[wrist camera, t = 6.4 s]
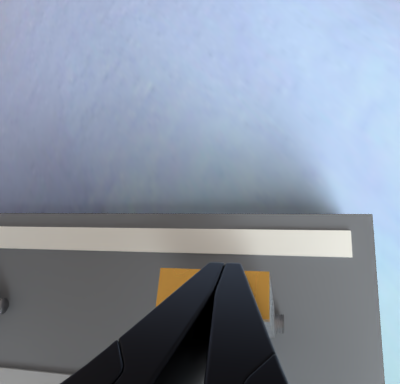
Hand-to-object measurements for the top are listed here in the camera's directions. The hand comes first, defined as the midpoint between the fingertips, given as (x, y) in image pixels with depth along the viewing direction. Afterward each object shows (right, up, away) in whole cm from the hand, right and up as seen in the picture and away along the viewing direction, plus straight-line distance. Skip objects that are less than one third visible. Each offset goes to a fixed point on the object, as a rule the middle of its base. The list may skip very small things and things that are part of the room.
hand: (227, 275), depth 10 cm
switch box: (-5, -5, +14) cm, 15 cm away
